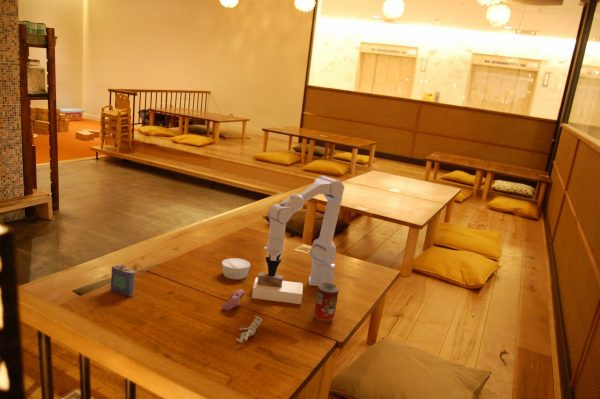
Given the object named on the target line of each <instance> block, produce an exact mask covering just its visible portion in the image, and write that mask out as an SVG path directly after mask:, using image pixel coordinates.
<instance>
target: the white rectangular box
mask: <svg viewBox="0 0 600 399" xmlns="http://www.w3.org/2000/svg"><path fill="white" fill-rule="evenodd" d="M253 283H254V284H253V287H252V295H251V299H256V300H264V301H271V302H272V301H273V302H280V303H289V304H297V305H301V304H302V302H303V301H302V299H303V293H304V292H303V288H304V287H303V282H297V281H296V282H295V281H289V280H288V281H287V280H282V288H280V287H272V286H264V285H257V283H258V276H257V277H255V279H254V282H253Z"/></svg>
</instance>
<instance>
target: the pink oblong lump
mask: <svg viewBox="0 0 600 399" xmlns="http://www.w3.org/2000/svg"><path fill="white" fill-rule="evenodd" d="M245 294H246V291H245V290H243V289H241V288H239V289H238V290H236V291H234V292H232V293H231V294H230V295H229V298H228V299H229V300H228V301H226V302H224V303H223V304H221V307H220V308H221V310H222V311H229V310H231V309H235V307H236V306H240V304H241V303H240V300H241V299H242V298H244V296H245Z"/></svg>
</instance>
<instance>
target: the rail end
mask: <svg viewBox="0 0 600 399" xmlns="http://www.w3.org/2000/svg"><path fill="white" fill-rule="evenodd" d="M257 277H258V283H257V285H264V286H272V287H280V288H282V281H284V280H283V278H284V275H281V274H275V276H274V277H271V276H269V275H268V273H266V272H265V273H264V272H258V276H257Z"/></svg>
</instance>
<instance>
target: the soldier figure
mask: <svg viewBox="0 0 600 399" xmlns="http://www.w3.org/2000/svg"><path fill="white" fill-rule="evenodd" d="M254 317H255V319H253V321H252V322H251V324H250V325H249V326H248V327H240V328H238V329H237V330H240V331H239V332H241V331H245V330H248V331H245V332H241V334H240V339H239V338H238V337H237V338H236V341H237V342H238V343H240V344H242V343H243V342H244V341H246V342H247V341H248V339H249V337H252V336H254V335H255V334H256V332H257V331H256V330H257V329H258V327H259V326H260V325H261V322H263V321H264V320H263V318H261V317H259V316H257V315H254Z"/></svg>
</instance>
